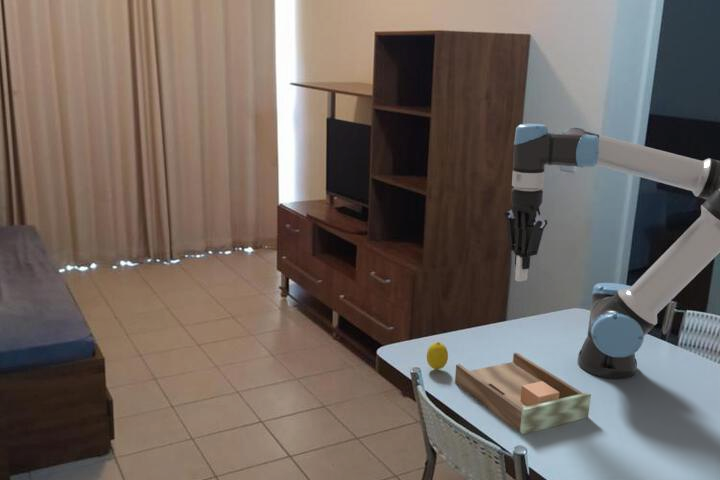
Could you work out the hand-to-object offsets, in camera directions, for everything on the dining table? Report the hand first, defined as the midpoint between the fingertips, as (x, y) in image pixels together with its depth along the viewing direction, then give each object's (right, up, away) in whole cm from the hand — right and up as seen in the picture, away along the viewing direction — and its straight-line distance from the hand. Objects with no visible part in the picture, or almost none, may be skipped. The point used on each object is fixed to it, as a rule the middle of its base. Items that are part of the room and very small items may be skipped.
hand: (521, 280), depth 179 cm
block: (+1, -28, -14) cm, 32 cm away
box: (-2, -28, -6) cm, 29 cm away
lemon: (-21, -24, +8) cm, 33 cm away
